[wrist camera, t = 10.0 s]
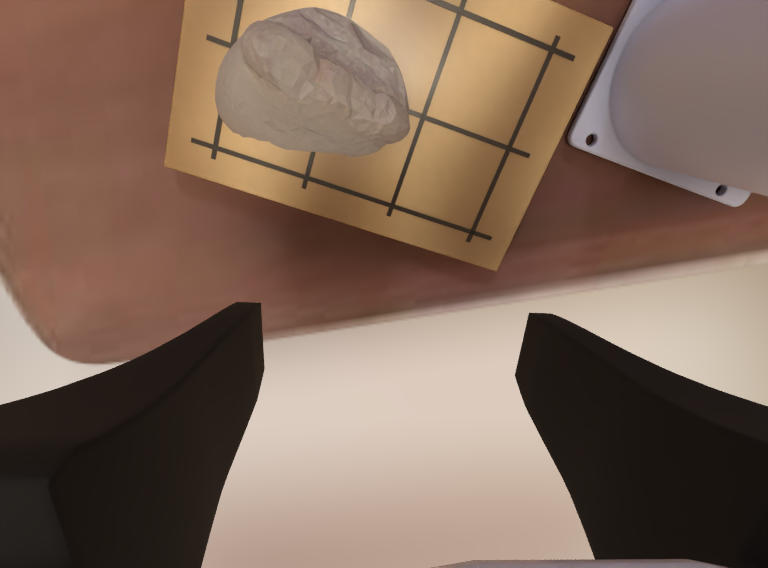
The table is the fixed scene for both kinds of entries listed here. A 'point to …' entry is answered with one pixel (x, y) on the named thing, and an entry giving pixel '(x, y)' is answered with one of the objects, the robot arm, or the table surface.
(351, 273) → the table surface
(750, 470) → the robot arm
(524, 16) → the grid board
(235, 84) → the fossil
